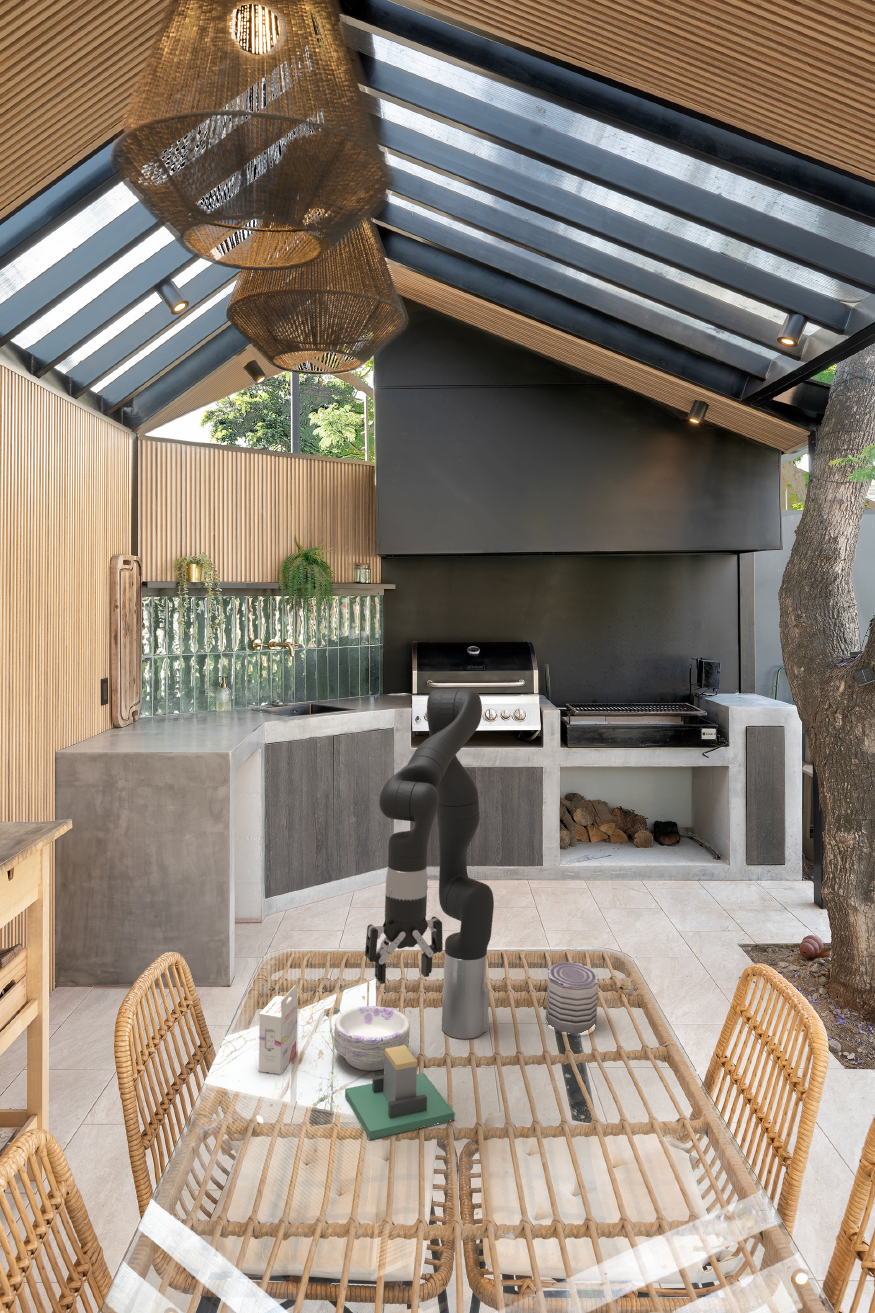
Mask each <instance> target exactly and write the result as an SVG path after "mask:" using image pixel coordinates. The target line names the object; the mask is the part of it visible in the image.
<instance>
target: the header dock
mask: <svg viewBox="0 0 875 1313" xmlns="http://www.w3.org/2000/svg"><path fill="white" fill-rule="evenodd" d="M383 1084H384V1074H383V1075H377V1076H373V1077H372V1081H371V1083H367V1084H361V1085H356V1086H352V1087H347V1088H344V1090H345V1091H344V1097H345V1099H346V1101H347V1103H348V1104H349V1106H350V1107H351V1109H352V1111H353V1113H354V1115H355V1117H356V1119H357V1121H358V1122H359V1124H360V1126H361V1127H362V1129H363V1130H364V1133H365V1134H366V1136H367V1137H368V1140H370V1141H371V1140H375V1139H380V1138H384V1137H389V1136H393V1135H397V1134H403V1133H405V1132H406V1133H407V1132H410V1131H415V1130H414V1129H416V1130H418V1129H417V1128H420V1129H422V1128H421V1127H423V1126H429V1127H433V1126H435V1125H434V1124H437V1123H439V1124H438V1125H441V1124H440V1123H442V1124H447V1123H449V1122H448V1121H450V1120H451V1122H453V1121H452V1120H454V1121H455V1111H454V1110H453V1109H452V1107H451V1106H450V1105H449V1103H448V1102H447V1101H446V1099H445V1098H444V1096H443V1095H442V1094H441V1093H440V1091H439V1090H438V1089H437V1088H436V1086H435V1085H434V1084H433V1083H432V1081H431V1080H430V1079H429V1078H428V1075H426V1074H425V1073H424V1072H422V1073H417V1082H416V1096H414V1097H409V1098H405V1099H400V1100H395V1101H390V1102H388V1100H387V1099H386V1097H385V1096H384V1094H383ZM432 1125H433V1126H432Z"/></svg>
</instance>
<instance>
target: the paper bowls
mask: <svg viewBox="0 0 875 1313" xmlns="http://www.w3.org/2000/svg"><path fill="white" fill-rule="evenodd" d="M410 1025H411V1024H410V1020H409V1018H408V1017H407V1016H406V1015H405V1014H403V1012H400V1011H399V1010H396V1009H394V1008H389V1007H384V1006H375V1005H370V1006H365V1005H364V1006H358V1007H354V1008H351V1009H348V1010H345V1011H344V1012H341V1013H340V1014H339V1015H338V1016H337V1017H336V1018H335V1022H334V1030H333V1031H334V1033H333V1034H334V1036H333V1047H334V1049H335V1051H336V1052H337V1054H339V1055H340V1056H342V1057H344V1059H345V1061H346V1063H348V1064H349V1065H350V1066H351V1067H353V1068H355V1069H358V1070H361V1071H368V1072H371V1071H372V1072H375V1071H380V1070H384V1058H385V1049H386V1048H391V1047H397V1046H402V1045H405V1046H406V1047H407V1048H408V1049H409V1047H410V1033H411V1032H410V1030H411V1027H410Z"/></svg>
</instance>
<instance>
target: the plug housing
mask: <svg viewBox="0 0 875 1313" xmlns="http://www.w3.org/2000/svg"><path fill="white" fill-rule="evenodd" d="M417 1074H418V1060H417V1058H416V1057H415V1056H414V1054H413V1053H412V1052H411V1051H410V1049H409V1047H408V1048H407V1047H406V1046H405V1045H402V1046H397V1047H391V1048H386V1049H385V1058H384V1069H383V1075H384V1084H383V1094H384V1096H385V1097H386V1099H387V1100H388V1102H390V1101H395V1100H400V1099H405V1098H409V1097H414V1096H416V1082H417Z"/></svg>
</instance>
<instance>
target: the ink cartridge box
mask: <svg viewBox="0 0 875 1313" xmlns="http://www.w3.org/2000/svg"><path fill="white" fill-rule="evenodd" d="M297 989H298V986H297V984H295V985H293V987H291V989H290V990H289V991H288V992H287V993H286V994H285V995H284V996H283V995H282V996H281V995H275V996H274V997H273V998H272V1000H271V1001H270V1002H269V1003H268V1004H267V1005H266V1006H265V1007H264V1008H263V1010H261V1011H260V1012H259V1023H258V1024H259V1027H258V1028H259V1029H258V1030H259V1031H258V1032H259V1033H258V1034H259V1035H258V1036H259V1037H258V1042H259V1043H258V1047H259V1048H258V1051H259V1052H258V1072H259V1071H260V1073H266V1072H269V1073H268V1074H273V1073H276V1075H282V1074H283V1072H284V1071H285V1070H286V1068H287V1067H288V1065H289V1064H290V1063H291V1061H292V1059H293V1058H294V1057H295V1056H296V1054H297V1038H298V1037H297V1035H298V1008H299V1006H298V1002H299V1001H298V1000H299V998H298V990H297ZM289 1062H290V1063H289ZM286 1066H287V1067H286ZM284 1069H285V1070H284ZM277 1073H278V1074H277ZM281 1073H282V1074H281Z"/></svg>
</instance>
